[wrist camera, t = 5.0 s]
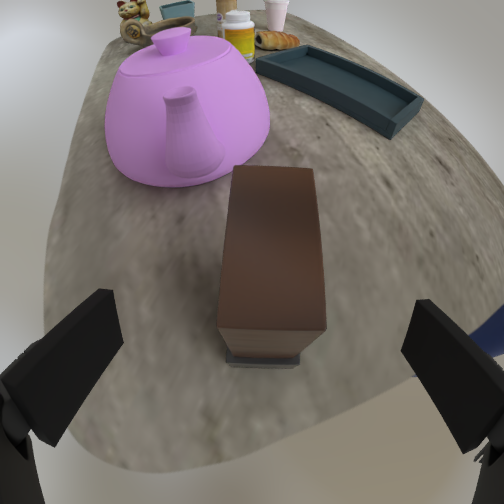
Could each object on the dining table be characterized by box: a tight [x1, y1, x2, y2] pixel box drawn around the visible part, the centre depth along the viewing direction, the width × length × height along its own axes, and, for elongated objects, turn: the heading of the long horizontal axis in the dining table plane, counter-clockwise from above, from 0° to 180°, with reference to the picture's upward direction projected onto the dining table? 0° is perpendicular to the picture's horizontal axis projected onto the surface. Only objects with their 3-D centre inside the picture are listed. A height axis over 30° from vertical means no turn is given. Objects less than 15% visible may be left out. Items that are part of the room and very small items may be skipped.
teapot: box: [105, 27, 270, 188], centre depth 23 cm, size 25×18×14 cm
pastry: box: [255, 31, 300, 50], centre depth 44 cm, size 9×7×4 cm
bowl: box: [120, 16, 197, 47], centre depth 44 cm, size 14×18×10 cm
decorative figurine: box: [117, 0, 152, 40], centre depth 49 cm, size 10×8×15 cm
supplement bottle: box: [221, 11, 255, 64], centre depth 36 cm, size 6×6×10 cm
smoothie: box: [264, 0, 290, 32], centre depth 47 cm, size 6×6×14 cm
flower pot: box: [159, 0, 195, 20], centre depth 52 cm, size 9×9×9 cm
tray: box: [256, 45, 424, 140], centre depth 35 cm, size 24×14×3 cm, turn 45°
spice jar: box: [216, 0, 237, 38], centre depth 42 cm, size 5×5×14 cm
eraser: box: [216, 165, 327, 369], centre depth 15 cm, size 8×4×11 cm, turn 177°
